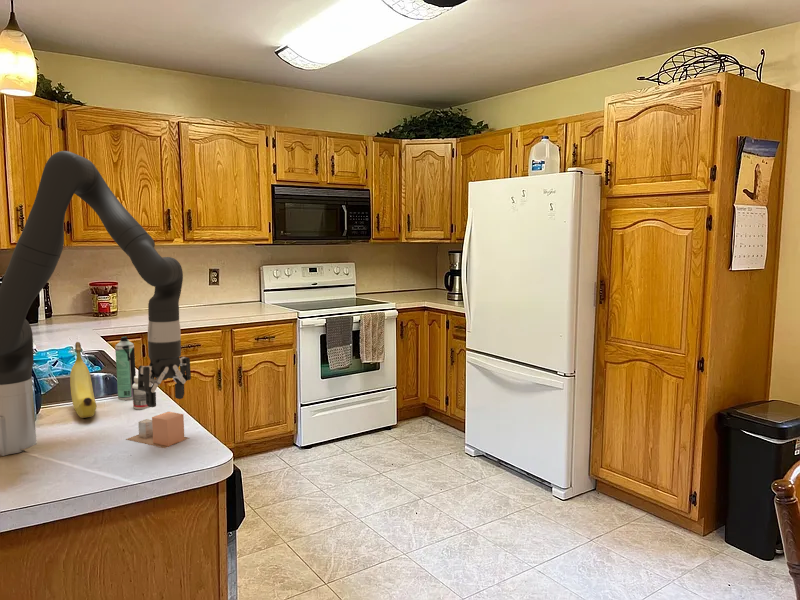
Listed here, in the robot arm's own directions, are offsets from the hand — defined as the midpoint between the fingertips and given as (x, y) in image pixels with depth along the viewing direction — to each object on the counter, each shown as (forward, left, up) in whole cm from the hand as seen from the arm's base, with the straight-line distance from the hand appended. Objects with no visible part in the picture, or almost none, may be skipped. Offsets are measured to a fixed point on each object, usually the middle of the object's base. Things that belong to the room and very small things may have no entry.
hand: (165, 402), depth 145 cm
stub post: (0, +8, -10) cm, 13 cm away
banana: (+7, +42, -11) cm, 44 cm away
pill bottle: (+19, +32, -11) cm, 39 cm away
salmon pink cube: (0, 0, -10) cm, 10 cm away
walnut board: (0, +4, -11) cm, 12 cm away
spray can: (+24, +45, -11) cm, 52 cm away
